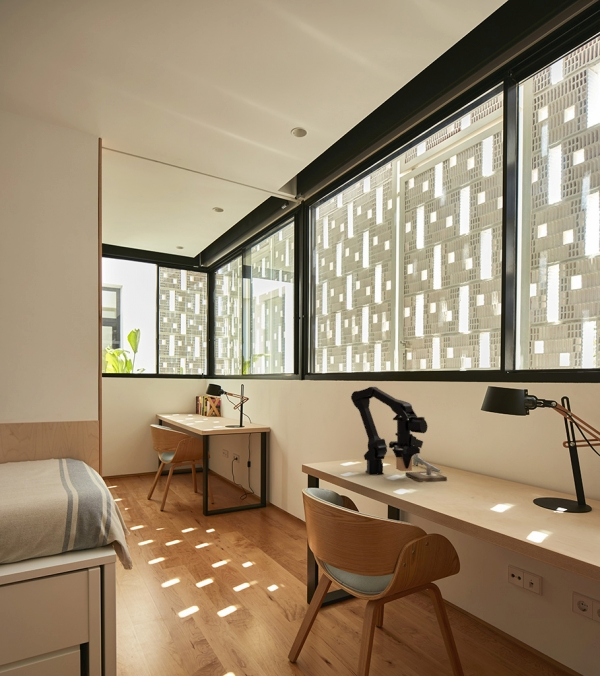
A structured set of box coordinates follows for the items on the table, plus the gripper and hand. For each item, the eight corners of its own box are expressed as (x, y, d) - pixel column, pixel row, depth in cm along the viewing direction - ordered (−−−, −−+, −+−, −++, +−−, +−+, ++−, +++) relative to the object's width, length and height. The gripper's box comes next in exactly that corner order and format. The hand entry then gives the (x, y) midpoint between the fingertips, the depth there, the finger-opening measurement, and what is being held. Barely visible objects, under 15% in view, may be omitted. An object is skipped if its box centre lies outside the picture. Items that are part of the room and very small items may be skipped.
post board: (419, 481, 195) (419, 468, 196) (405, 475, 208) (405, 463, 208) (446, 480, 198) (446, 467, 199) (431, 474, 211) (431, 462, 211)
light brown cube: (401, 471, 198) (401, 459, 199) (396, 468, 203) (396, 457, 203) (411, 470, 199) (411, 458, 200) (406, 468, 204) (406, 457, 204)
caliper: (413, 465, 234) (412, 453, 235) (414, 465, 235) (414, 453, 235) (440, 473, 216) (440, 459, 216) (442, 473, 216) (441, 459, 217)
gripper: (431, 433, 195) (431, 470, 194) (410, 428, 213) (411, 462, 212) (406, 433, 193) (407, 471, 191) (388, 429, 211) (388, 463, 209)
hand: (404, 467), depth 201 cm, fingers closed on light brown cube, 5 cm apart
